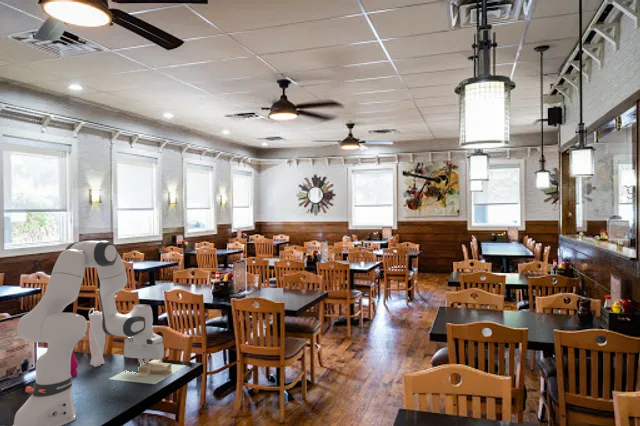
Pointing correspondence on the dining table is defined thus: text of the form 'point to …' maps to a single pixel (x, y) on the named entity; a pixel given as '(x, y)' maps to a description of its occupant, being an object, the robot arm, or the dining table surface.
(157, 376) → the mat
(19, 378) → the dining table surface
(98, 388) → the dining table surface
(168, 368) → the T block
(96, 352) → the skyscraper
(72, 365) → the pepper mill
